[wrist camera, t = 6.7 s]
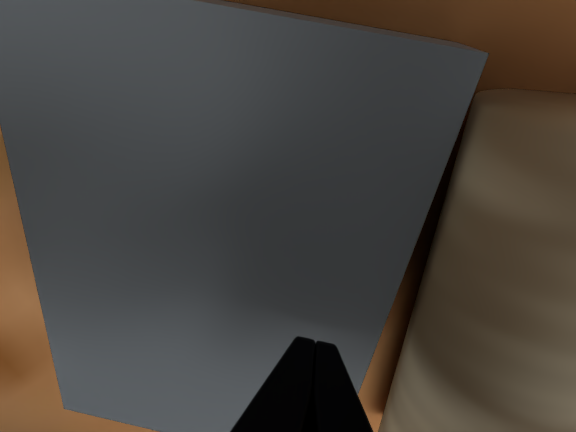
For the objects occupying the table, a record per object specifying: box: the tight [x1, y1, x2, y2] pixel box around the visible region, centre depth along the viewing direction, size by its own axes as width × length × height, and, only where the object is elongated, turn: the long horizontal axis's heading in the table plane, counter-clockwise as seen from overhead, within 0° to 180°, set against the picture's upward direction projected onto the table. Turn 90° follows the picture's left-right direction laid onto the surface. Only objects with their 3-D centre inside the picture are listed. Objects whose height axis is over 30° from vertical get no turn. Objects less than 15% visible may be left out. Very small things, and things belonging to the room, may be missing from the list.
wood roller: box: [378, 89, 576, 432], centre depth 9 cm, size 4×11×4 cm, turn 177°
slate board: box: [0, 0, 489, 432], centre depth 10 cm, size 20×12×2 cm, turn 81°
